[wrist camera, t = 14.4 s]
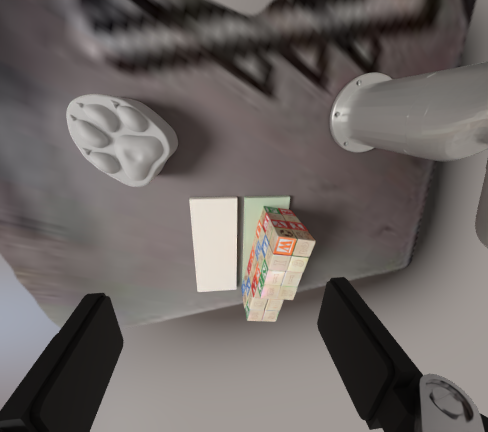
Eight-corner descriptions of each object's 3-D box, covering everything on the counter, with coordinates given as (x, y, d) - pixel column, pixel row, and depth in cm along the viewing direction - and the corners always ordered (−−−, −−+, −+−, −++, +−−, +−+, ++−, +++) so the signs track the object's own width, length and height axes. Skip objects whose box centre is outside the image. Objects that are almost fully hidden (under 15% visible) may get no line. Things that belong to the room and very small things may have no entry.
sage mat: (288, 195, 44) (290, 197, 43) (278, 283, 54) (279, 286, 53) (244, 196, 43) (245, 198, 42) (242, 285, 53) (242, 289, 52)
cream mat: (236, 196, 43) (237, 198, 42) (235, 286, 53) (236, 289, 52) (190, 197, 42) (189, 199, 41) (198, 288, 52) (197, 292, 51)
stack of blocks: (266, 289, 53) (279, 336, 42) (240, 287, 52) (247, 335, 41) (291, 209, 44) (317, 241, 33) (262, 204, 43) (278, 236, 32)
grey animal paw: (152, 182, 40) (137, 199, 32) (80, 133, 35) (41, 139, 28) (185, 137, 37) (177, 143, 30) (112, 77, 33) (79, 66, 25)
